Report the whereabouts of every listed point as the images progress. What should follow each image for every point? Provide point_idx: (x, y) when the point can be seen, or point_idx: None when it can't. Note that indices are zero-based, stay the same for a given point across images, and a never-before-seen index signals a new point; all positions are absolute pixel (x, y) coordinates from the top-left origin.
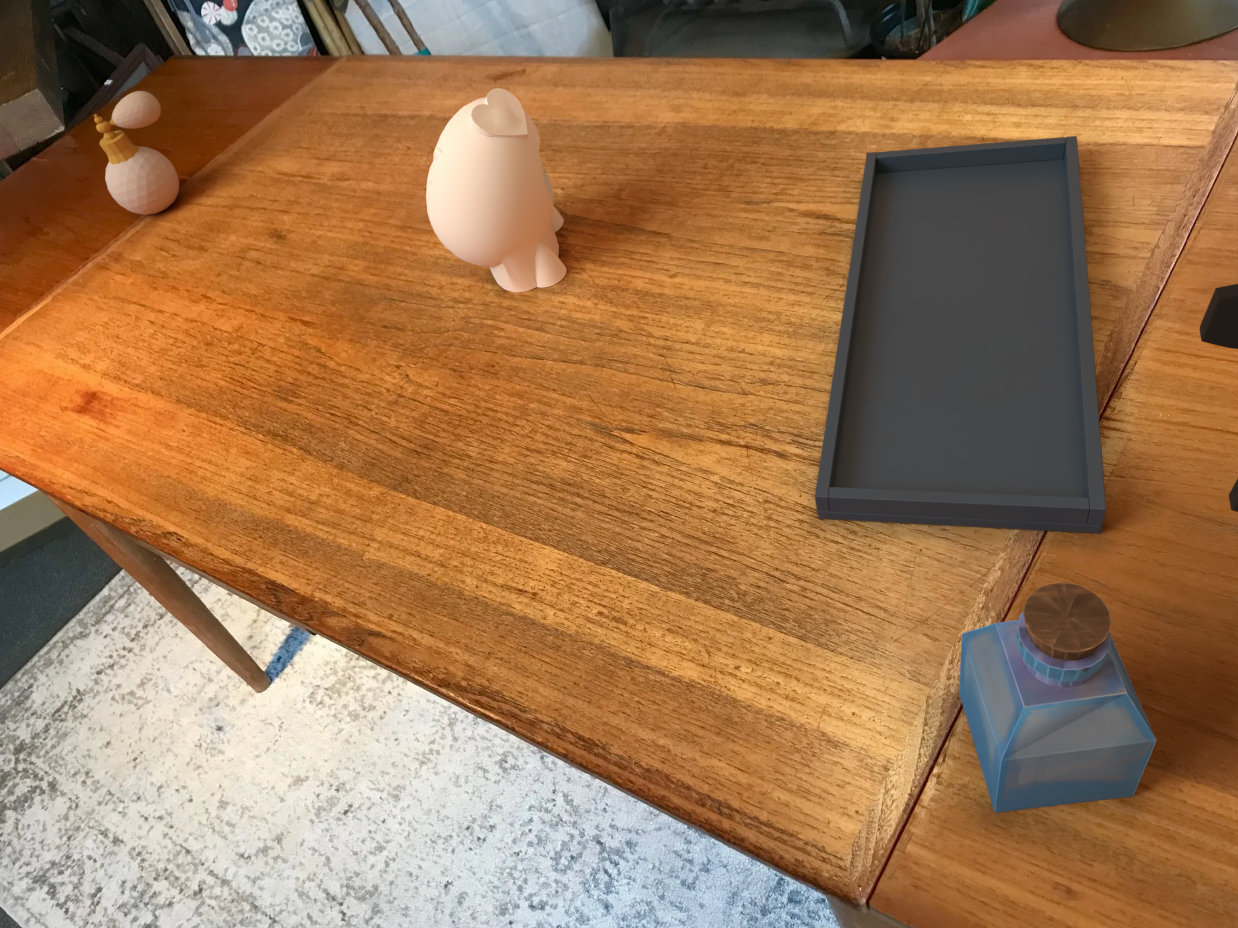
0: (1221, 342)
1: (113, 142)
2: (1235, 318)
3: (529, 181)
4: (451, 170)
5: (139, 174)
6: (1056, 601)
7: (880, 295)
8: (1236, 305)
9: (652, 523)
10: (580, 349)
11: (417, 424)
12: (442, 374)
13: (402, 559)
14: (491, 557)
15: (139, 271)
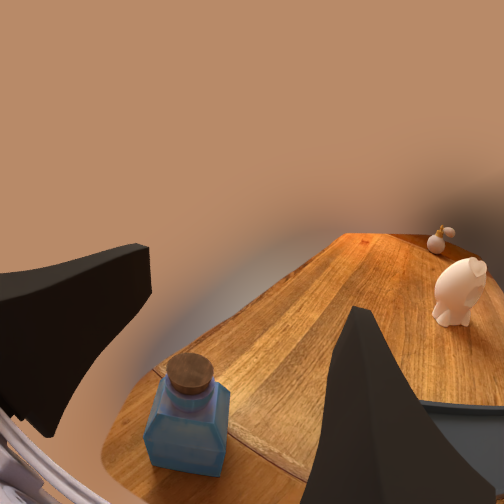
0: (331, 363)
1: (439, 231)
2: (342, 342)
3: (463, 288)
4: (454, 264)
5: (435, 240)
6: (201, 369)
7: (461, 422)
8: (349, 324)
9: (330, 343)
10: (412, 330)
11: (370, 291)
12: (392, 297)
13: (314, 286)
14: (315, 303)
15: (410, 249)
